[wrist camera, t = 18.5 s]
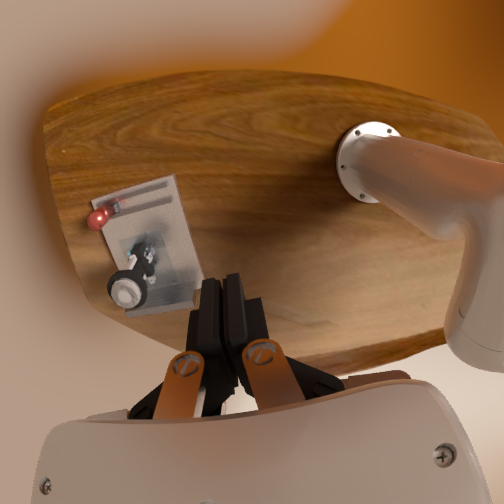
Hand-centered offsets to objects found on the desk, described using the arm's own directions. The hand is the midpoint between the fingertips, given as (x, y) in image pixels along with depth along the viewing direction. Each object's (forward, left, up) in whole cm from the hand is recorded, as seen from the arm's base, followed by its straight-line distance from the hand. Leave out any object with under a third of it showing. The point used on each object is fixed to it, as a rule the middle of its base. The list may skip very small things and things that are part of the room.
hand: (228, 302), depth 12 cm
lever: (+17, 0, -25) cm, 30 cm away
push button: (+14, +9, -26) cm, 31 cm away
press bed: (+13, +7, -27) cm, 31 cm away
